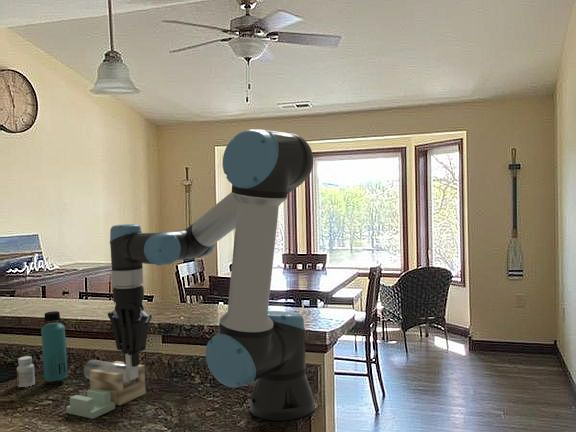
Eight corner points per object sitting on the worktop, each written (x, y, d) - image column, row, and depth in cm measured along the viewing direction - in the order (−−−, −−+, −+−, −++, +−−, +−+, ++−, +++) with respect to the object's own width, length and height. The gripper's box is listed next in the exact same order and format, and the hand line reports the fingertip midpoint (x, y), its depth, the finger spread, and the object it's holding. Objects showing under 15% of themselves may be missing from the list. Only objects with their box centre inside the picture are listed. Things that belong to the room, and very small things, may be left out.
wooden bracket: (145, 393, 152) (144, 365, 152) (119, 405, 144) (118, 375, 144) (117, 388, 157) (116, 360, 156) (90, 399, 149) (89, 370, 148)
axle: (137, 382, 150) (136, 363, 150) (123, 388, 146) (122, 369, 146) (98, 375, 157) (97, 357, 157) (84, 381, 153) (83, 362, 152)
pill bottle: (20, 383, 164) (19, 356, 164) (37, 382, 164) (35, 355, 164) (15, 388, 160) (13, 360, 159) (32, 387, 160) (30, 359, 160)
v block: (115, 408, 142) (114, 392, 142) (92, 419, 136) (91, 402, 136) (89, 402, 146) (88, 387, 146) (66, 412, 140) (65, 396, 140)
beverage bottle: (59, 386, 160) (56, 314, 159) (38, 386, 161) (34, 314, 160) (73, 379, 166) (69, 309, 165) (52, 378, 167) (48, 309, 166)
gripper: (158, 284, 147) (162, 377, 148) (120, 282, 153) (124, 371, 154) (136, 289, 140) (141, 386, 141) (98, 287, 146) (102, 379, 147)
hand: (132, 378), depth 148 cm, fingers closed
